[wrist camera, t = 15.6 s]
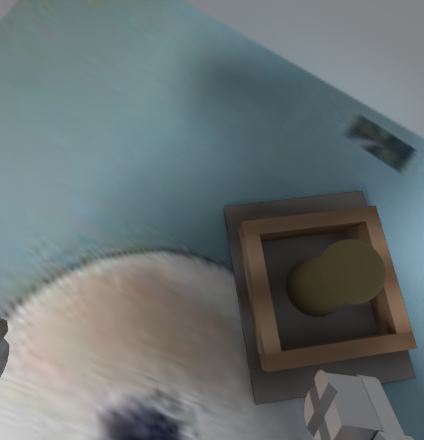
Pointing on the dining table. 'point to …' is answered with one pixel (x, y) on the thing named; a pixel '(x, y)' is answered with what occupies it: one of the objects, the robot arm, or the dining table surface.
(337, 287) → the cork
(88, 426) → the dining table surface
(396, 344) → the collar
